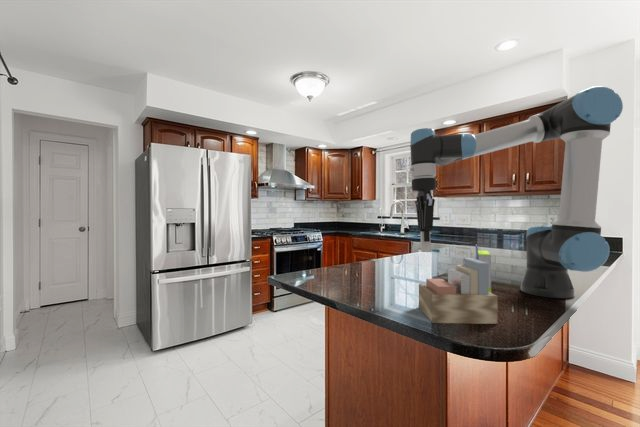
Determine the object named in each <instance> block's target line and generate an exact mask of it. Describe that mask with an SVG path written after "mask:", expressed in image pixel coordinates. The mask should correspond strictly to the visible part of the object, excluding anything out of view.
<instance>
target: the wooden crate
mask: <svg viewBox="0 0 640 427" xmlns="http://www.w3.org/2000/svg"><path fill="white" fill-rule="evenodd" d="M418 309H419V310H420V311H421V310H422V311H421V312H422V313H423V314H424V315H425V316H426V317H427V319H429V320H430V322H432V324H472V325H473V324H477V325H478V324H479V325H482V324H484V325H485V324H486V325H487V324H488V325H489V324H490V325H491V324H492V325H494V324H495V325H496V324H497V325H498V295H496V294H494V293H492V292H491V293H490V292H489V295H466V294H435V293H434V292H433V291H431V290H430V289H429V288H427V287H426V284H424V283H418Z"/></svg>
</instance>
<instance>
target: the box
mask: <svg viewBox="0 0 640 427" xmlns="http://www.w3.org/2000/svg"><path fill="white" fill-rule="evenodd" d="M491 258H492V255H491V253H490V252H489V250H479V247H478V245H477V244H475V259H476V260H480V261H483V262H486V263H489V292H490V293H492V259H491Z"/></svg>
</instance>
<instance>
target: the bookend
mask: <svg viewBox="0 0 640 427" xmlns="http://www.w3.org/2000/svg"><path fill="white" fill-rule="evenodd" d="M447 282H448V283H450V284H452V285H453V286H455V287H456V294H466V295H470V275H469V274H466V273H464V272H462V271H460V270H458V269H456V268H448V269H447Z"/></svg>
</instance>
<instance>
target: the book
mask: <svg viewBox="0 0 640 427" xmlns="http://www.w3.org/2000/svg"><path fill="white" fill-rule="evenodd" d="M425 280H426V281H425V282H426V283H425V286H426V287H427V288H429V289H430V290H431V291H433V292H434V293H435V294H456V287H455V286H453V285H452V284H450V283H448V280H447V281H446V280H445V279H443V278H425Z"/></svg>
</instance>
